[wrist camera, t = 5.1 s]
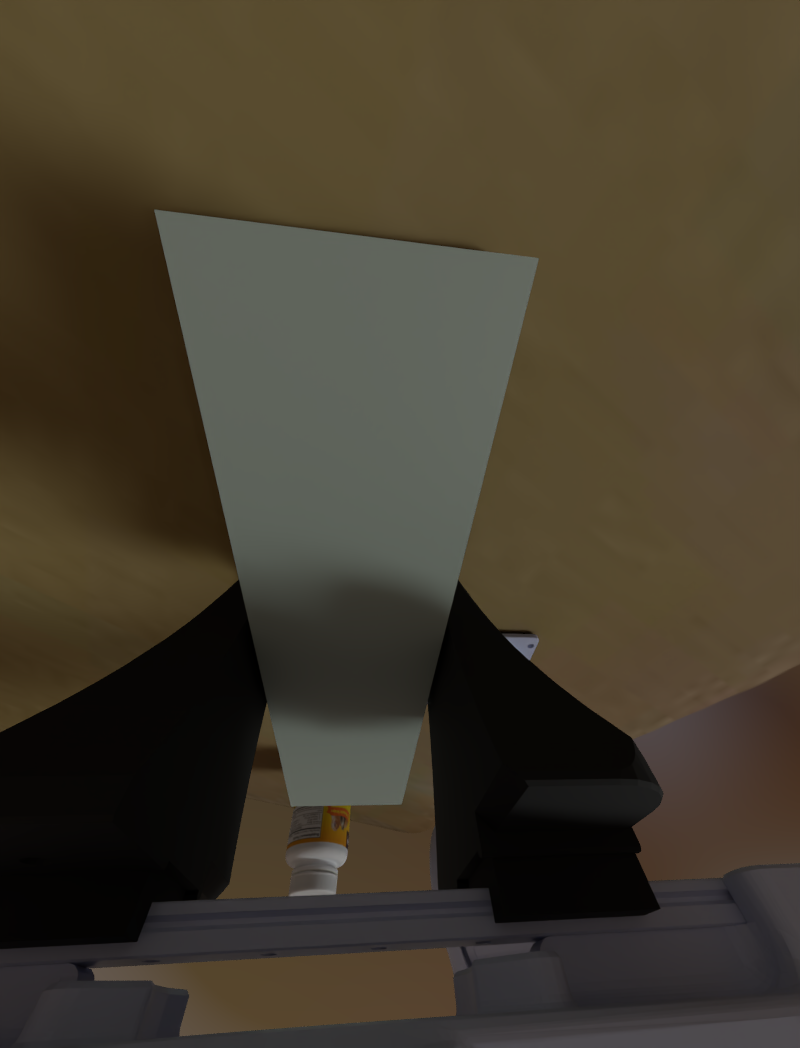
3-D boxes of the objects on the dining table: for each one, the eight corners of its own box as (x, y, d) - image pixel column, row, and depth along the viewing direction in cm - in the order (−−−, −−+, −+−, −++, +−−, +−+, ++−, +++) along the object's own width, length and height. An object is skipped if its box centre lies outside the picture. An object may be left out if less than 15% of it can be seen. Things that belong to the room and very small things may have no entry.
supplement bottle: (359, 767, 38) (352, 899, 30) (312, 773, 39) (292, 906, 30) (346, 744, 35) (334, 885, 27) (295, 751, 36) (267, 892, 27)
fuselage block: (396, 669, 17) (401, 804, 12) (316, 667, 17) (291, 806, 12) (452, 282, 8) (538, 258, 4) (286, 262, 8) (154, 210, 3)
